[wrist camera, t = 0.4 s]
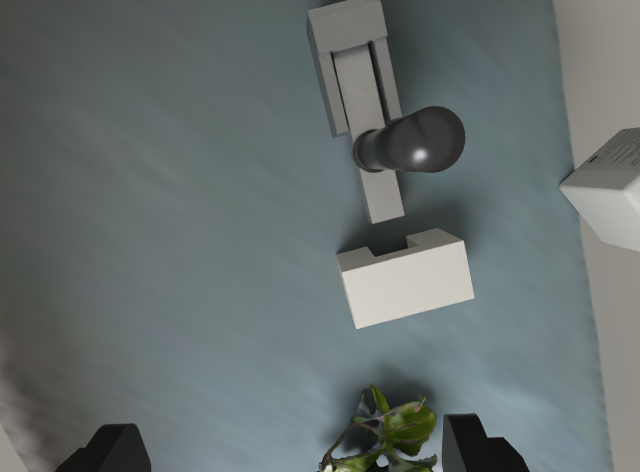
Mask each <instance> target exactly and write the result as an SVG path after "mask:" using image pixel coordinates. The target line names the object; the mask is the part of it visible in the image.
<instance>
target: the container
mask: <svg viewBox="0 0 640 472" xmlns="http://www.w3.org/2000/svg"><path fill="white" fill-rule="evenodd" d="M559 189H560V190H561V191H562V193H563V194H564V195H565V196H566V198H567V199H568V200H569V201H570V202H571V204H572V205H573V206H574V207H575V209H576V210H577V211H578V212H579V214H580V215H581V216H582V217H583V219H584V220H585V221H586V222H587V224H588V225H589V226H590V227H591V228H592V230H593V231H594V232H595V234H596V235H597V236H598V237H599V238H600V240H601V241H603V242H604V243H608V244H612V245H616V246H620V247H623V248H628V249H631V250H635V251H639V252H640V128H632V129H623V130H621V131H619V132H618V133H617V134H616V135H615V136H614V137H612V138H611V140H609V141H608V142H607V143H606V144H605V145H603V146H602V147H601V148H600V149H599V150H598V151H597V152H596V153H594V154H593V155H592V156H591V157H590V158H589V159H588V160H586V161H585V162H584V163H583V164H582V165H581V166H580V167H579V168H578V169H576V170H575V171H574V172H573V173H572V174H571V175H570V176H568V177H567V178H566V179H565V180H564V181H563V182H562V183H561V184H560V185H559Z"/></svg>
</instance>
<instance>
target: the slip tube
mask: <svg viewBox="0 0 640 472" xmlns="http://www.w3.org/2000/svg"><path fill="white" fill-rule="evenodd" d="M330 54H331V59H332V63H333V67H334V71H335V76H336V80H337V84H338V88H339V93H340V97H341V101H342V105H343V110H344V114H345V118H346V122H347V126H348V132H347V137H348V141H349V146H350V150H351V154H352V158H353V162H354V167H355V171H356V175H357V179H358V184H359V188H360V192H361V196H362V200H363V205H364V209H365V213H366V217H367V220H369V221H370V222H371V223H372V224H374V223H378V222H382V221H385V220H389V219H393V218H397V217H401V216H404V211H403V206H402V201H401V197H400V192H399V187H398V183H397V178H396V174H395V170H397V171H412V172H428V173H435V172H440V171H443V170H445V169H447V168H449V167H450V166H452V165H453V164H454V163H455V162H456V161H457V160H458V158H459V157H460V155H461V153H462V151H463V148H464V145H465V131H464V127H463V124H462V122H461V121H460V119H459V118H458V116H457V115H456V114H455V113H453V112H452V111H450V110H449V109H447V108H444V107H439V106H431V107H426V108H423V109H421V110H419V111H417V112H415V113H413V114H411V115H408V116H406V117H404V118H402V119H400V120H398V121H396V122H394V123H392V124H389V125H387V126H385V123H384V118H383V114H382V109H381V104H380V100H379V95H378V91H377V86H376V81H375V77H374V72H373V67H372V63H371V58H370V54H369V49H368V44H367V43H366V44H363V45H359V46H355V47H351V48H348V49H344V50H340V51H337V52H333V53H330Z"/></svg>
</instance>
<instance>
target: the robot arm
mask: <svg viewBox="0 0 640 472" xmlns="http://www.w3.org/2000/svg"><path fill="white" fill-rule="evenodd" d="M442 466H443V472H530V471H529V469H528V467H527V465H526V463H525V461H524V459H523V457H522V456H521V455H520V454H519V453H518V452H517V451H516V450H515V449H514V448H513V447H512V446H511V445H510V444H509V443H508V442H507V441H506V440H505V439H504V437H495V438H487V435H486V433H485V431H484V428H483V426H482V424H481V421H480V419H479V417H478V416H477V415H476V414H475V413H472V414H445V415H444V419H443V440H442ZM55 472H151V462H150V459H149V457H148V454H147V451H146V448H145V446H144V443H143V440H142V438H141V435H140V432H139V430H138V427H137V426H136V425H135V424H133V423H131V424H106V425H103V426H101V427H100V428H99V429H98V430H97V432H96V433H95V434H94V436H93V437H92V439H91V440H90V442H89V443H88V445H87V446H86V447H85V448H79V449H78V450H77V451H76V452H74V453H73V454H72V455H71V456H70V457H69V458H68V459H67V460H66V461H64V462H63V463H62V464H61V465H60V466H59V467H58V468H57V469H56V471H55Z"/></svg>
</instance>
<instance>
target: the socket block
mask: <svg viewBox="0 0 640 472" xmlns="http://www.w3.org/2000/svg"><path fill="white" fill-rule="evenodd" d="M406 241H407V245H408V249H404V250H400V251H397V252H393V253H389V254H385V255H381V256H378V257H375V256H374V255H373V254H372V252H371V251H370V250H369V248H368V247H367V246H366V247H363V248H359V249H355V250H351V251H347V252H344V253H340V254H336V259H337V262H338V266H339V270H340V274H341V278H342V282H343V286H344V289H345V293H346V297H347V301H348V304H349V308H350V311H351V314H352V317H353V320H354V323H355V326H356V329H359V328H362V327H366V326H370V325H374V324H378V323H382V322H385V321H389V320H393V319H397V318H401V317H404V316H408V315H412V314H416V313H420V312H424V311H427V310H431V309H435V308H439V307H443V306H447V305H450V304H454V303H458V302H462V301H466V300H469V299H473V298H474V294H473V288H472V283H471V278H470V272H469V267H468V262H467V256H466V251H465V246H464V240H461V239H459V238H457V237H455V236H453V235H451V234H449V233H447V232H445V231H443V230H440V229H438V228H435V229H431V230H427V231H423V232H420V233H416V234H412V235H408V236H406Z"/></svg>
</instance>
